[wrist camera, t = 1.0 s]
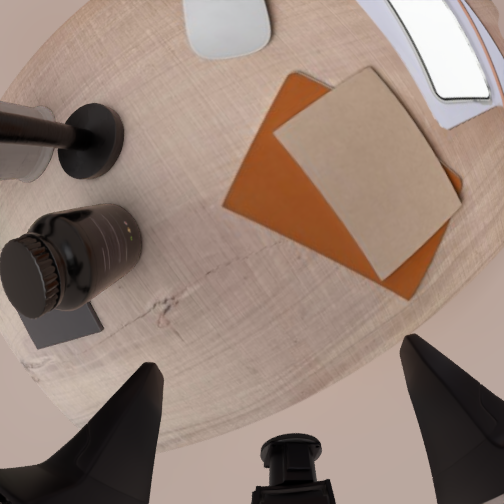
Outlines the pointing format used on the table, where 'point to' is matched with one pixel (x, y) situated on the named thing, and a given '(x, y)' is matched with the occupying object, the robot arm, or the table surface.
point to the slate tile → (62, 326)
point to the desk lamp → (71, 138)
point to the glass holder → (24, 148)
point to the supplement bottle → (69, 258)
